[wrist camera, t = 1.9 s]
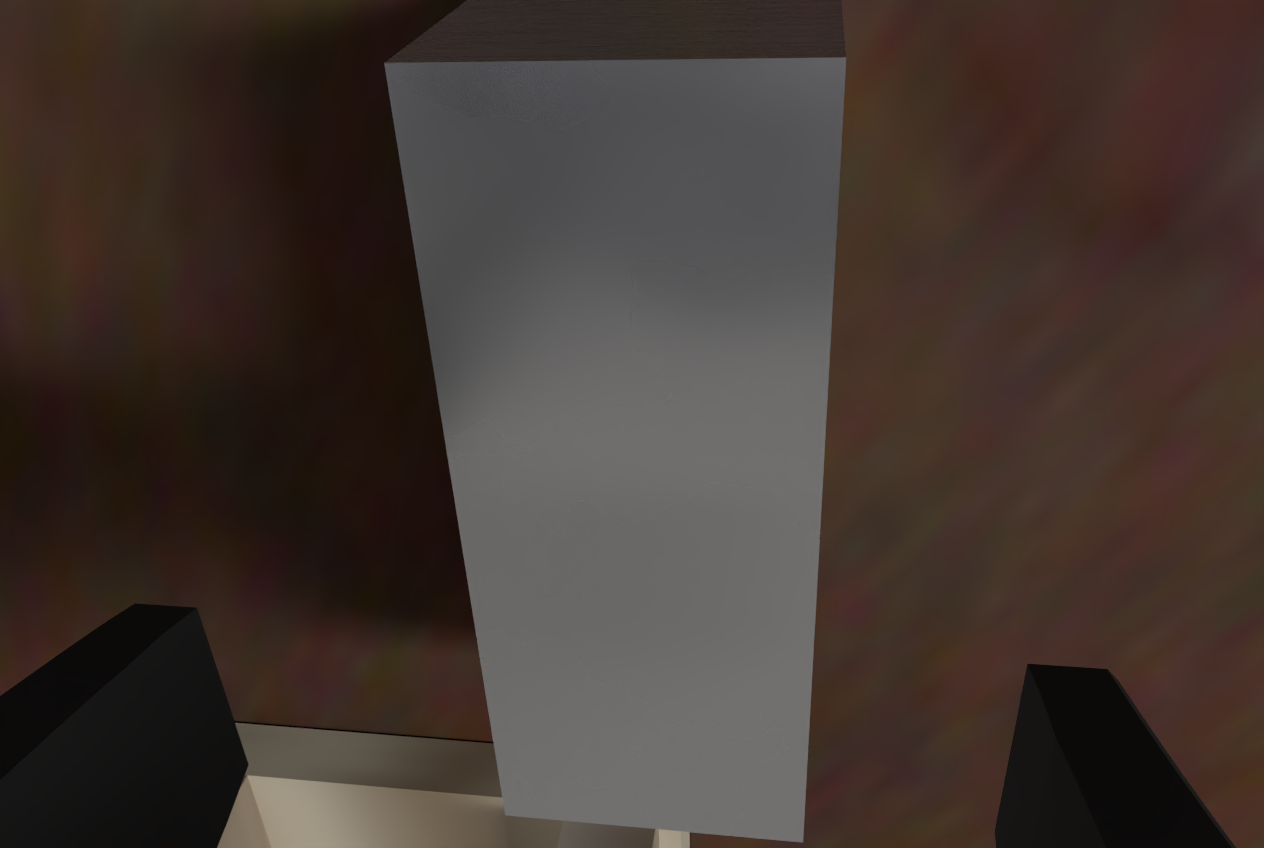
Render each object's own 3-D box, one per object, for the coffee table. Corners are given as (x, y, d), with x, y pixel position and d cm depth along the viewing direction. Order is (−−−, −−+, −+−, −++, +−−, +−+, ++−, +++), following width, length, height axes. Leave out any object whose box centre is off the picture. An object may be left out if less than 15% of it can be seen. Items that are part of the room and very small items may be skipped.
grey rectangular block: (568, 597, 19) (505, 815, 15) (506, -30, 13) (383, 62, 10) (806, 612, 18) (802, 843, 14) (838, -37, 13) (845, 57, 9)
